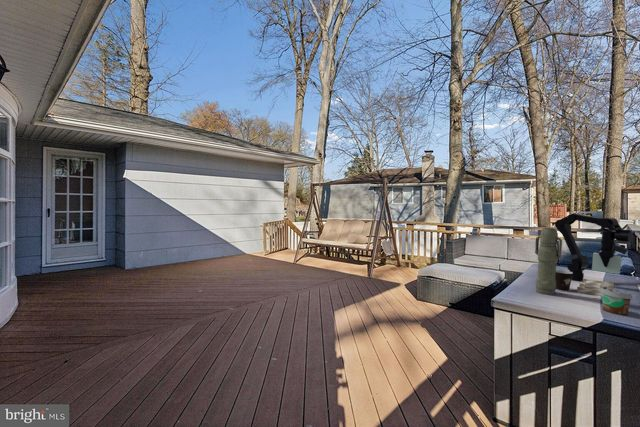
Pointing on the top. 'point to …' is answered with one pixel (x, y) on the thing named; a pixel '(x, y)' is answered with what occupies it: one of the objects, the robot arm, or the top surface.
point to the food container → (615, 301)
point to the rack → (592, 291)
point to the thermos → (547, 260)
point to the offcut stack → (593, 285)
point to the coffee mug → (563, 279)
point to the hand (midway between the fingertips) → (606, 266)
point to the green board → (612, 265)
